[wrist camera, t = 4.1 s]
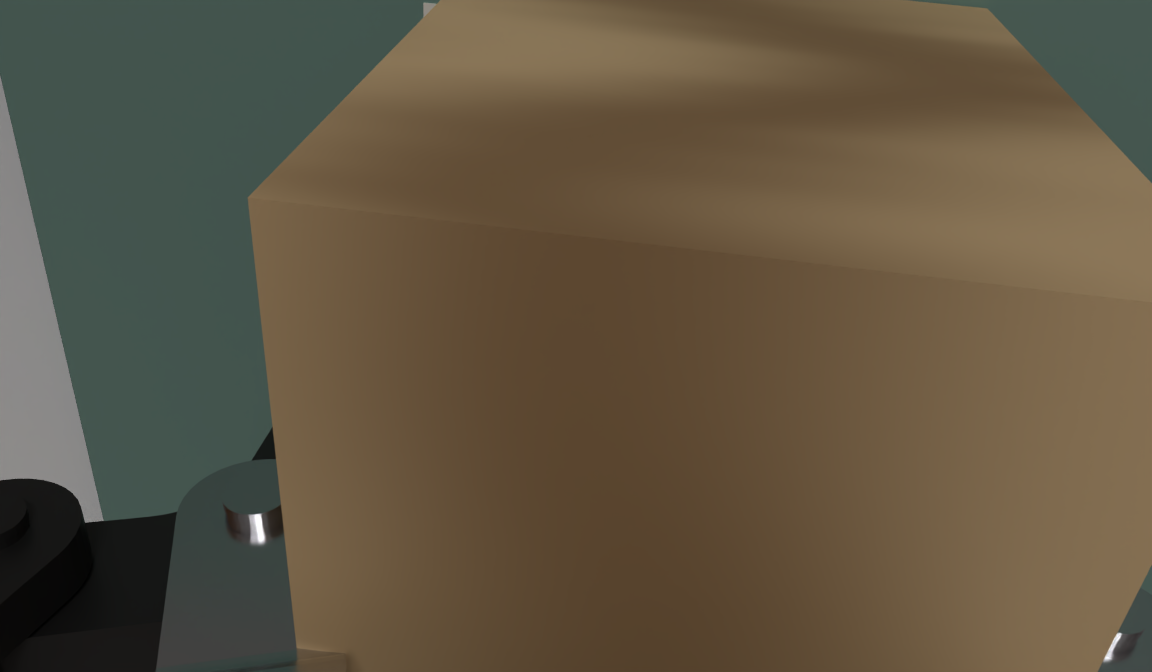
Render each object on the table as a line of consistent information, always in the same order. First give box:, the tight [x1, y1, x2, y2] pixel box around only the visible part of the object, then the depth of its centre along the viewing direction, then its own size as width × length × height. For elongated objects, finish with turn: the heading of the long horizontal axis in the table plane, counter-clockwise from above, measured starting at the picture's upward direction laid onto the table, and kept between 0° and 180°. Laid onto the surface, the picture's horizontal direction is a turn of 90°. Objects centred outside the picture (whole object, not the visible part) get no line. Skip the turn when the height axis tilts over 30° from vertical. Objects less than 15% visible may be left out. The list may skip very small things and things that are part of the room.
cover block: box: [248, 0, 1152, 672], centre depth 10 cm, size 5×9×6 cm, turn 176°
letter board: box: [0, 0, 1152, 595], centre depth 13 cm, size 16×16×1 cm
